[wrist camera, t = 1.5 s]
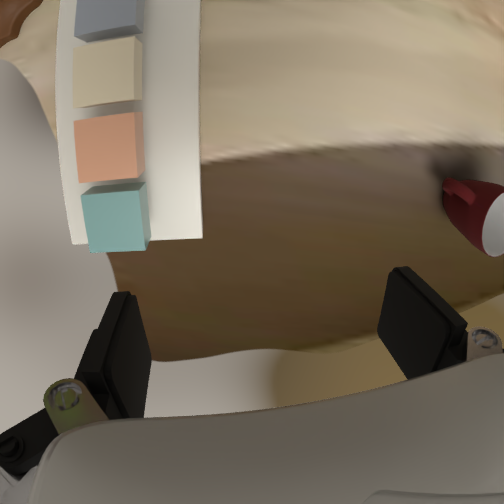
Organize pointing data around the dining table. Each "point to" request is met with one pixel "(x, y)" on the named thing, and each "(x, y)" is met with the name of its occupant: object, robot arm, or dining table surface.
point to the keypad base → (144, 118)
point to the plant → (14, 17)
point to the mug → (477, 212)
